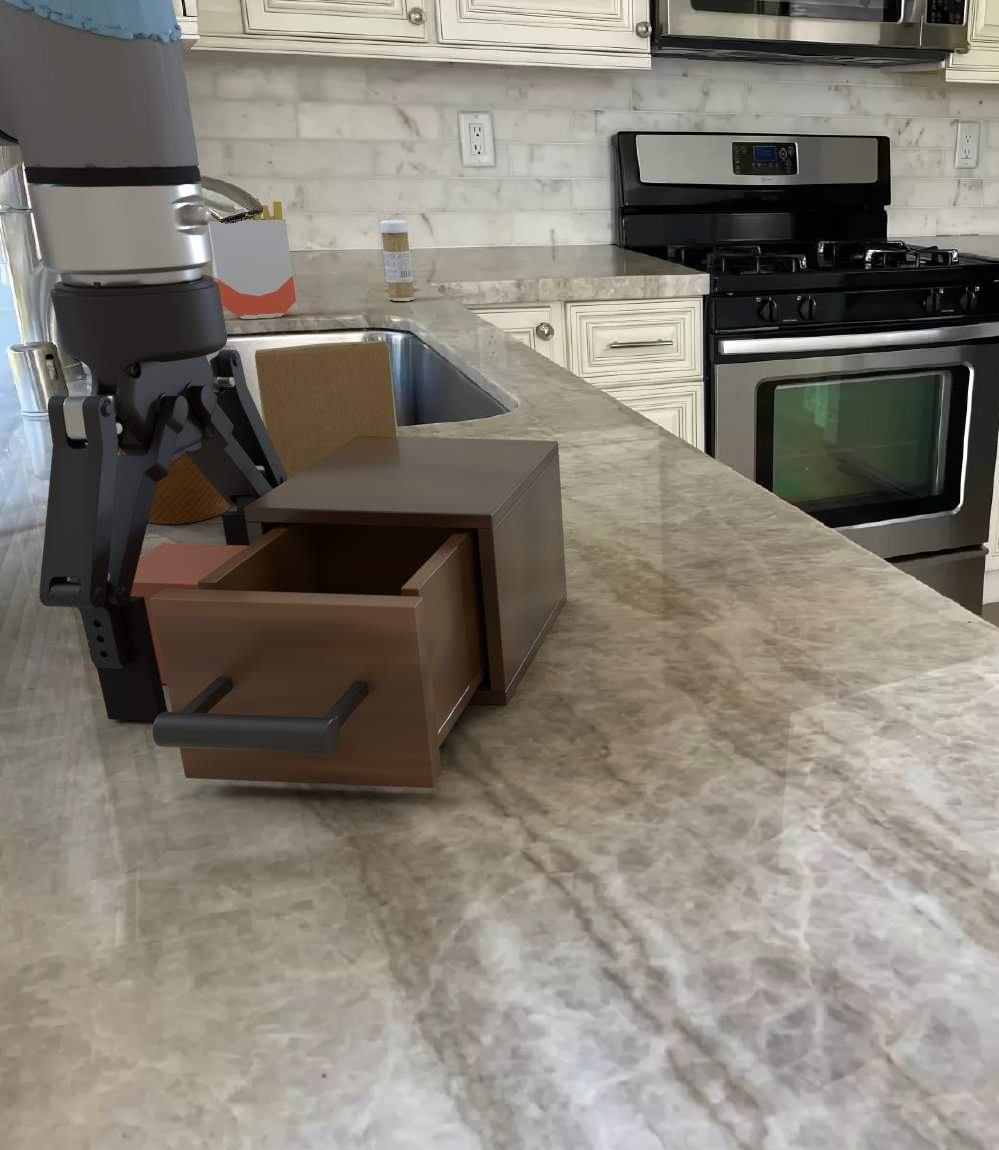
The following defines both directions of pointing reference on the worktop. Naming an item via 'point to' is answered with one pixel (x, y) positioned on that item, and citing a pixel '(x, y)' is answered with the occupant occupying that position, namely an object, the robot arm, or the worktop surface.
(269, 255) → the french fries container
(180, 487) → the disposable coffee cup
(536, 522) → the cabinet
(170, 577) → the block
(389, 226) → the sprinkles bottle
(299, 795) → the worktop surface
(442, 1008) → the worktop surface
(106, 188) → the robot arm
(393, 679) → the drawer
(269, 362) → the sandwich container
